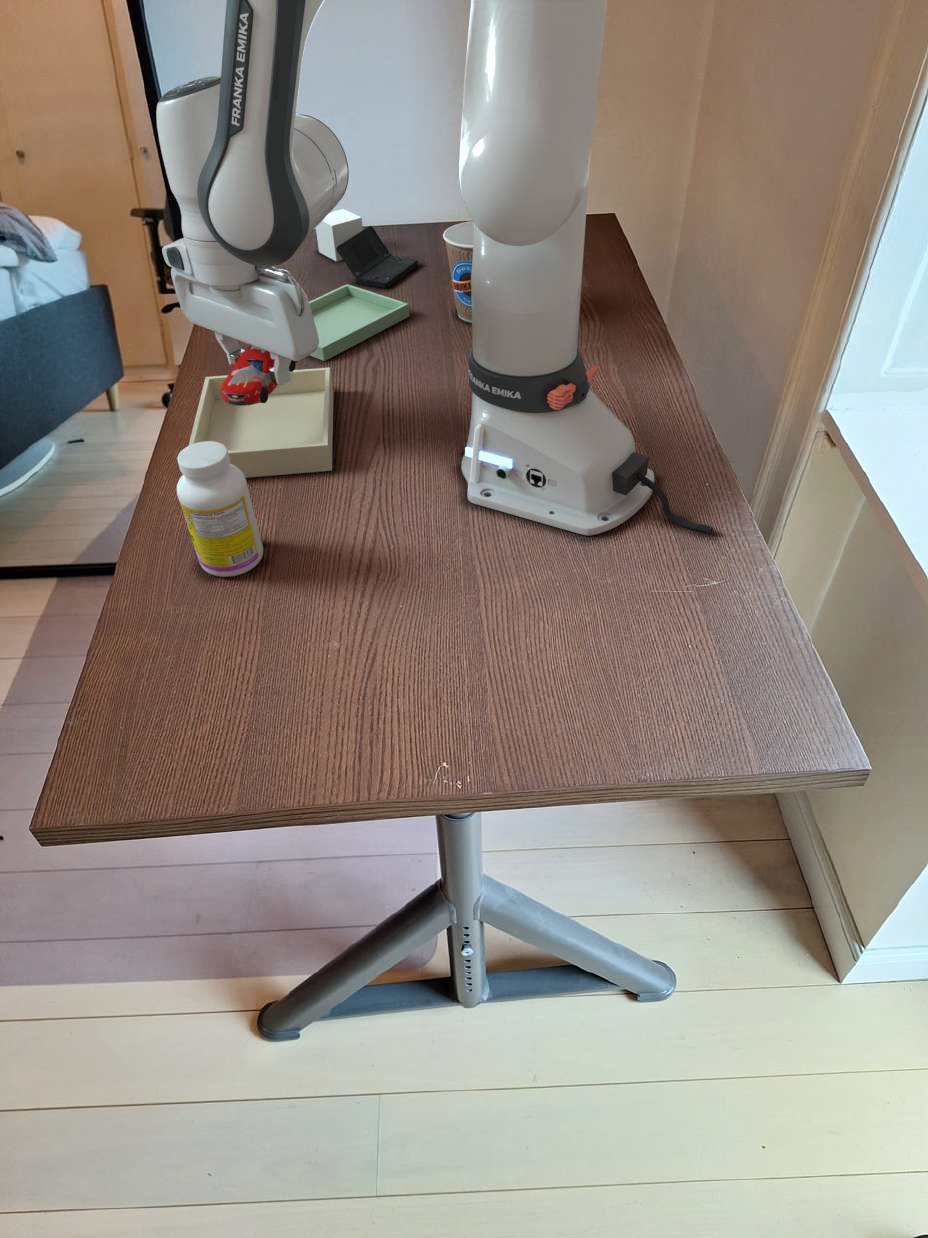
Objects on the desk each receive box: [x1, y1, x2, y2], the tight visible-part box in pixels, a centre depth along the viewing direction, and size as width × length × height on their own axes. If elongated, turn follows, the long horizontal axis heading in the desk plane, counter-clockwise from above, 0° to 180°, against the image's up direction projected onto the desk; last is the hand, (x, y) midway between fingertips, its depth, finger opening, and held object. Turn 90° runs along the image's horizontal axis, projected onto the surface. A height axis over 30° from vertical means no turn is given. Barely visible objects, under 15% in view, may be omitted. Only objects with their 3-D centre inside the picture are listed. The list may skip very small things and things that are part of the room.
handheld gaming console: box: [336, 225, 419, 290], centre depth 142 cm, size 12×7×10 cm
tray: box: [308, 283, 410, 362], centre depth 128 cm, size 13×18×2 cm
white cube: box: [315, 208, 364, 263], centre depth 149 cm, size 6×6×6 cm
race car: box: [221, 344, 298, 406], centre depth 100 cm, size 13×5×4 cm, turn 163°
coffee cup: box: [442, 220, 474, 324], centre depth 126 cm, size 10×10×12 cm
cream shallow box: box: [188, 367, 334, 478], centre depth 105 cm, size 19×16×4 cm
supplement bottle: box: [176, 441, 264, 578], centre depth 84 cm, size 7×7×13 cm
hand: (260, 373), depth 101 cm, fingers closed on race car, 6 cm apart
